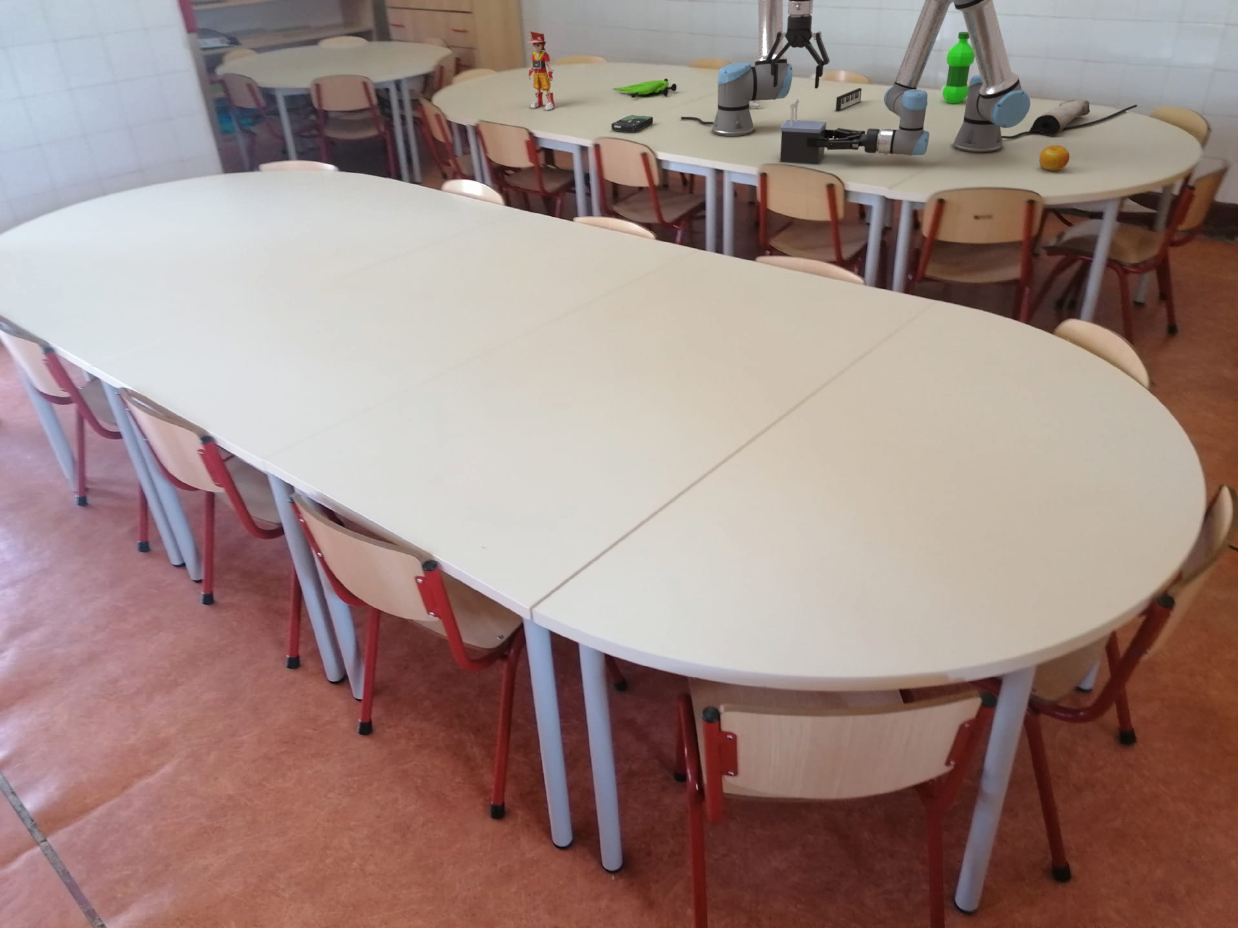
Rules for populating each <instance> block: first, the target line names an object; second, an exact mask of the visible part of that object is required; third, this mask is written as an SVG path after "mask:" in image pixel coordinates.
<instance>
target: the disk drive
mask: <svg viewBox="0 0 1238 928" xmlns="http://www.w3.org/2000/svg"><path fill="white" fill-rule="evenodd" d="M652 124H654V118H653V116H650V115H649V116H647V115H636V114H635V115H634V114H631V115H627V116H625V117H623V118H621V119H619V120H617V121H614V122H612V123H611V124H610V125H611V130H612V131H615V132H623V133H636V132H637V131H640V130H643V129H645V128H646V127H649V126H650V125H651V126H652Z"/></svg>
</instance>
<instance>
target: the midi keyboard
mask: <svg viewBox="0 0 1238 928" xmlns="http://www.w3.org/2000/svg"><path fill="white" fill-rule="evenodd" d="M862 90H863V89H862V87H859V88H856V89H853V90H851V91H849V92H846V93H843V94H841V95H839V96H836V102H835V111H838V112H839V111H841V110H843V109H845V108H848V107H850V106H852V105H854V104H857V103H859V102H861V99H862Z"/></svg>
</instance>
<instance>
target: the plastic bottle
mask: <svg viewBox="0 0 1238 928" xmlns="http://www.w3.org/2000/svg"><path fill="white" fill-rule="evenodd" d="M957 39H958V42H957V43H956V44H954V45H953V46H952V47H951V48H950V49H949V50H948V52H947V54H946V63H947V64H948V69H947V70H948V71H947V76H946V77H947V78H946V84H945V85H944V87H943V90H942V97H943V99H944V100H945V101H946V102H947V103H948V104H960V103H961V102H963V101H964V100H966V99H967V94H968V86H969V85H968V79H969V73H970V67H971V65H972V64H973V63H974V61H975V59H976V58H975V55H974V51H973V48H972V44H971V43H969V42H968V41H969V40H970V37H969V34H968V31H959V32H958V36H957Z"/></svg>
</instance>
